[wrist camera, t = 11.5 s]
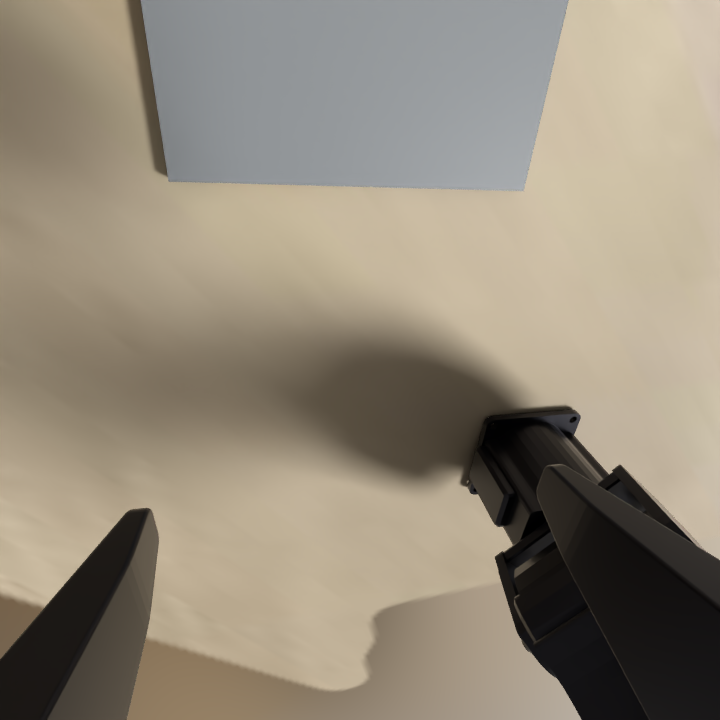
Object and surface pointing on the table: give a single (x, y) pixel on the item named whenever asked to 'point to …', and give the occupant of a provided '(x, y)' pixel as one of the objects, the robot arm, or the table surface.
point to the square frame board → (352, 90)
